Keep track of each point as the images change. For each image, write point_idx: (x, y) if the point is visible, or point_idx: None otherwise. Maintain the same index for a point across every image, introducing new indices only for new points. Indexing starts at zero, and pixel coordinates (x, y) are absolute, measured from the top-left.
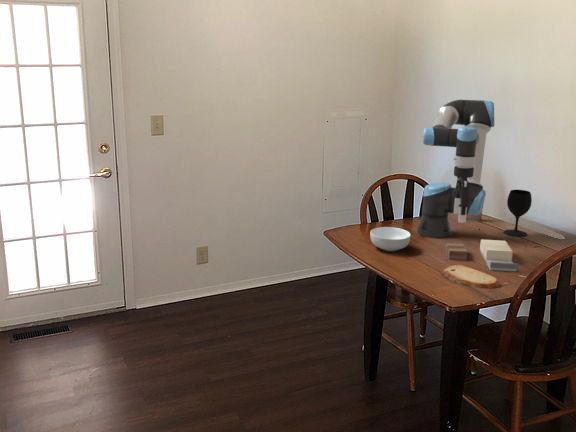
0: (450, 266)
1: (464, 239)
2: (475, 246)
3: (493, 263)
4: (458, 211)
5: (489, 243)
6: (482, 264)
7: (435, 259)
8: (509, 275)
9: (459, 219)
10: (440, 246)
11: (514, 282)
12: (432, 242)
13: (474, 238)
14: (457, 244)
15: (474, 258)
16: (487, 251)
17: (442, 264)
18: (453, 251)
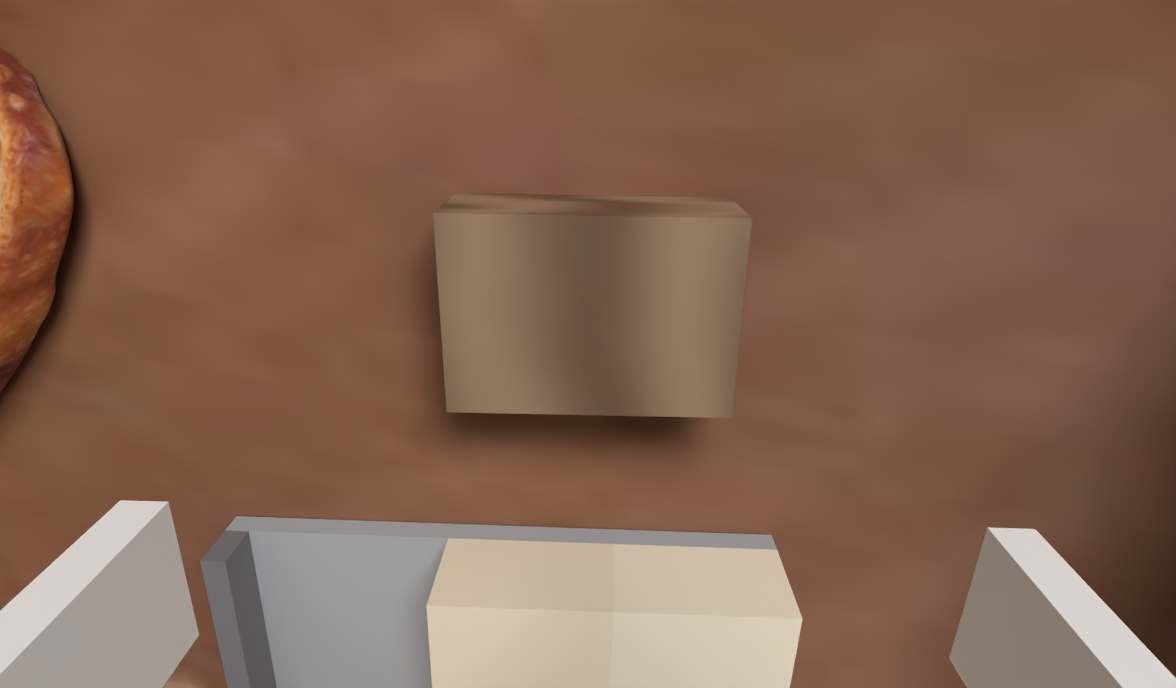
0: (10, 149)
1: (1151, 466)
2: (907, 523)
3: (208, 576)
4: (994, 665)
5: (663, 667)
6: (373, 485)
7: (415, 27)
8: None
9: (70, 567)
10: (918, 164)
11: None
12: (1089, 82)
13: (1168, 560)
14: (703, 349)
15: (533, 450)
16: (429, 599)
17: (257, 90)
18: (437, 258)
